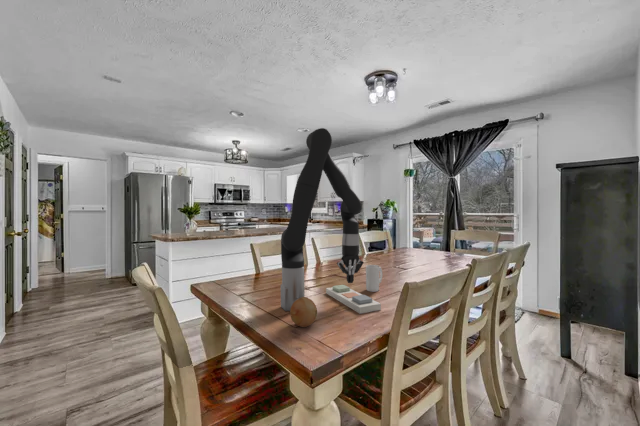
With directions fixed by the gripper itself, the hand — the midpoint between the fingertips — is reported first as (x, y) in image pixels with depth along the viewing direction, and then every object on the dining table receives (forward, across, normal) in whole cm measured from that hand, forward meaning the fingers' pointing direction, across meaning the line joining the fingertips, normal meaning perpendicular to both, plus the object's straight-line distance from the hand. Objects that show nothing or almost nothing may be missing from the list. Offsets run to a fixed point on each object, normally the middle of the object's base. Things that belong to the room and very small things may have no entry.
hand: (350, 282), depth 131 cm
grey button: (+6, 0, -9) cm, 11 cm away
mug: (+8, +20, +10) cm, 24 cm away
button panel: (+8, 0, 0) cm, 8 cm away
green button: (+6, 0, +9) cm, 11 cm away
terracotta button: (+7, 0, 0) cm, 7 cm away
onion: (+9, -29, -16) cm, 34 cm away
